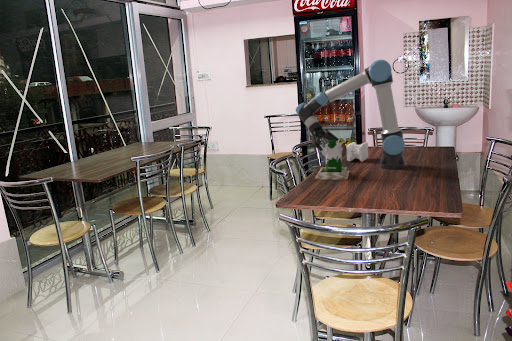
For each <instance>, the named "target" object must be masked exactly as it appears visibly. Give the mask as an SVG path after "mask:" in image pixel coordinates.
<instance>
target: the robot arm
mask: <svg viewBox="0 0 512 341" xmlns="http://www.w3.org/2000/svg"><path fill="white" fill-rule="evenodd" d="M392 73H393V72H392V66H391V64H390V62H388V61H387V60H385V59H378V60H377V59H376V60H374V61H372V63H371V64H370V65H369V66H368V67H366V68H364V69H363V71H362V72H360V73H358V74H356V75H354V76H352V77H350V78H349V79H347V80H344V81H342V82H340V83H339V84H337V85H335V86H333V87H330V88H329V89H327V90H325V91H323V92H322V91H319V92H318V93H316V94H315V95H314V97H312V98H311V99H310V100H309V101H307V103H306V102H302V103H300V104H297V106H296V107H295V112H296V114H297V115H298V117H299V118H300V119H301V121H302V122H303V124H304V125H305V126H306V128H307V129H308V130H309V132H310V133H309V136H310V138H311V143H312V147H313V148H315V149H318V150H319V152H321V154H322V156H323V157H326V154H327V152H326V150H325V147H323V145H322V144H321V139H326V140H327V141H329V140H336V143H339V138H338V137H337V136H336V135H334V134H333V133H332V132H331V131H330V130H328V129H327V128H326V129H323V125H322V124H321V122H319V120H318V119H317V117H316V115H314V114H316V113H317V112H318V111H319V110H320V109H321V108H322V107H325V106H327V105H328V104H330V103H332V102H335V101H336V100H338V99H340V98H342V97H344V96H346V95H349V94H351V93H352V92H354V91H356V90H358V89H361V88H363V87H364V86H366V85H368V84H369V85H371V87H372V88H373V89H374V90H375V95H376V100H377V105H378V110H379V115H380V116H379V118H380V121H381V127H382V128H381V129H382V130H381V132H380V136H381V142H382V155H381V158H380V162H379V167H380V168H381V169H386V170H399V169H404V168H406V161H405V160H406V159H405V157H404V154H403V153H404V152H403V150H405V145H406V144H405V141H404V131H403V129H402V128H401V127H400V126H399V124H398V119H397V111H396V106H395V100H394V96H393V90H392V84H393V82H394V79H393V74H392ZM341 148H342V149H341V150H342V151H343V150H344V148H343V147H342V146H341Z"/></svg>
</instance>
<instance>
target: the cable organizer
mask: <svg viewBox="0 0 512 341" xmlns="http://www.w3.org/2000/svg"><path fill="white" fill-rule="evenodd" d="M368 158H369V143H368V142H367V141H364V142H363V143H360V144H357V142H354V141H353V142H351V143H349V144H347V145H346V161H348V162H352V161H354V160H355V159H357V160H359V161H360V162H361V163H363V162H365V161H366V160H367V159H368Z"/></svg>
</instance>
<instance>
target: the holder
mask: <svg viewBox="0 0 512 341" xmlns="http://www.w3.org/2000/svg"><path fill="white" fill-rule="evenodd" d="M349 176H350V170H347V166H346V167H344V166H342V171H341V173H326V166H325V167H323V166H321V167H320V168H319V171H318V172H317V174H316V175H315V178H314V179H315V180H316V181H317V180H329V181H331V180H332V181H333V180H334V181H337V180H338V181H339V180H340V181H342V180H343V181H345V180H346V181H347V180H348V179H349Z"/></svg>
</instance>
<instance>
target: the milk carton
mask: <svg viewBox="0 0 512 341" xmlns="http://www.w3.org/2000/svg"><path fill="white" fill-rule="evenodd" d="M341 147H342V142H338V143H336V140H328V142H327V143H326V144H325V147H324V149H325V150H326V152H327V154H326V156H325V167H326V173H341V171H342V167H343V160H342V158H343V155H342V154H343V150H341V149H343V147H342V148H341Z"/></svg>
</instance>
